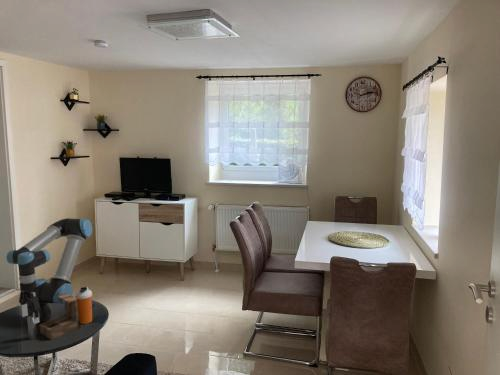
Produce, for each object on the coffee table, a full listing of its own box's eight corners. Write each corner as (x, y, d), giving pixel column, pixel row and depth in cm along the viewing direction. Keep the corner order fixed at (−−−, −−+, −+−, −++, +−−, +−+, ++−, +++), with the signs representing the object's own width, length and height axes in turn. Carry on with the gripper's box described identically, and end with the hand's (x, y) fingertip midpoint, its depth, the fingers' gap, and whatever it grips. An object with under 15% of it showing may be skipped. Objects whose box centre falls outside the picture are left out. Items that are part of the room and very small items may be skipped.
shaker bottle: (77, 326, 235) (75, 292, 232) (77, 319, 243) (75, 287, 240) (94, 323, 238) (92, 290, 236) (93, 316, 247) (91, 285, 244)
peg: (27, 338, 222) (25, 317, 220) (34, 335, 225) (33, 314, 223) (30, 340, 219) (28, 319, 218) (38, 337, 222) (36, 316, 221)
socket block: (40, 333, 227) (37, 302, 225) (68, 322, 240) (66, 293, 237) (51, 339, 220) (48, 308, 217) (79, 328, 232) (76, 298, 230)
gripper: (10, 278, 222) (13, 315, 225) (31, 288, 207) (34, 328, 210) (24, 274, 228) (27, 311, 231) (46, 284, 213) (48, 323, 215)
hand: (30, 319), depth 220 cm, fingers open, 13 cm apart
